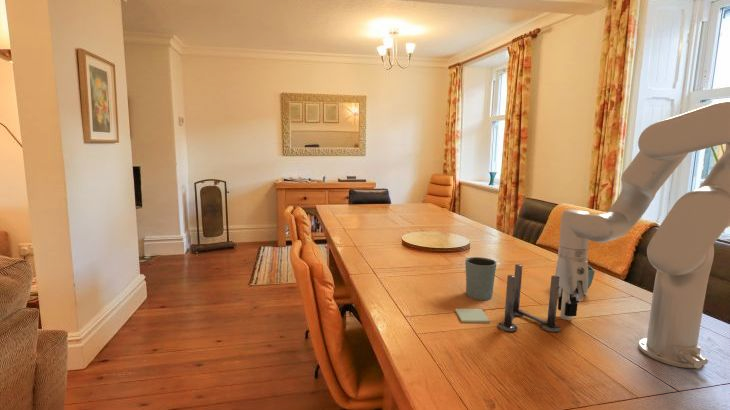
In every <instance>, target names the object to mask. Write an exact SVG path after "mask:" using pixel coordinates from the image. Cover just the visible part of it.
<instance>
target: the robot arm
mask: <svg viewBox="0 0 730 410" xmlns="http://www.w3.org/2000/svg"><path fill="white" fill-rule="evenodd" d="M637 140H638V142H637V144H638V145H637V146H638V149H639V151H638V153H637V154H636V155H635V157H634V158H633V159H632V160H631V162H630V163H629V165H628V166H627V167H626V169H625V170H624V171H623V172H622V174H621V178H620V181H621V191H620V194H619V195H618V197H617V198H616V200H615V201H614V202H613V204H612V205H611V206H610V208H609V209H608V210H607V211H606V212H604V213H603V212H602V213H598V214H597V213H596V214H591V213H590V212H589V211H587V210H583V209H565V210H564V211H563V212H562V213H561V218H560V219H561V220H560V228H559V229H560V230H559V237H558V238H559V239H558V249H557V251H558V252H557V260H556V261H557V262H556V266H555V273H554V276H559V277H560V278H559V288H558V300H557V310H558V311H561V304H562V293H563V289H564V290H565V291H566V292H568V293H567V302H566V304H565V316H573V317H577V315H578V314H577V311H578V304H579V303H580V301H584V299H585V298H584V295H588V292H589V291H588V290H589V289H588V265H589V264H588V255H589V246H590V245H589V244H590V241H591V242H595V243H600V244H602V243H604V244H605V243H608V242H611V241H615V240H617V239H620V238H623V237H624V236H625V235H627V234H628V233H629V232H630V231H631V230H632V228H634V226H635V225H636V224H637V223H638V222H639V221H640V220H641V218H642V217H643V215H644V214H645V213H646V212H647V209H648V208H649V206H650V205H651V203H652V201H653V200H654V198H655V197H656V194H657V193H658V191H659V190H660V189H661V188H662V186H663V185H664V184H665V183H666V181H667V180H668V179H669V178H670V176H671V175H672V174H673V173H674V172H675V171H676V169H677V168H678V167H679V165H680V164H681V163H682V162H683V161H684V159H685V158H686V157H687V156H688V155H689V154H690V153H693V152H698V151H702V150H705V149H708V148H712V147H713V148H714V147H716V146H717V147H718V146H720V145H725V149H724V151H723V154H722V155H721V157H720V158H719V159H718V160H717V161H716V163H715V164H714V165H713V166H712V167H711V170H710V172H709V173H708V175H707V177H705V179H704V181H702V183H701V185H700V186H699V187H698V188H697V189H696V188H695V189H692V190H690V191H688V192H687V193H685V194H683V195H682V196H681V197H679V199H678V200H676V202H675V203H674V204H673V206H672V207H671V209H670V210H669V212H668V213H667V215H666V216H665V217H664V219H663V221H662V222H661V224H660V225H659V226H658V228H657V230H656V231H655V233H654V234H653V235H652V237H651V239H650V240H649V243H648V245H647V248H646V255H647V256H646V257H647V258H648V261H649V263H650V264H651V266H652V267H653V268H654V269H656V273H655V280H654V286H653V291H652V298H651V305H650V306H651V307H650V313H649V320H648V329H647V336H646V337H644V338H642V339H639V341H638V346H637V347H638V348H639V350H640V351H641V352H642V353H643V354H644V355H645V356H647V357H649V358H652V359H653V360H655V361H658V362H661V363H663V364H666V365H669V366H673V367H677V368H684V369H701V368H702V367H703V365H707V364H708V362H709V360H708V358H705V357H704V356H703V355H702V354H701V349H702V348H701V347H700V346H699V345H698V344H699V343H698V342H699V336H700V331H701V323H702V317H703V311H704V305H705V299H706V293H707V288H708V282H709V277H710V274H711V270H712V266H713V262H714V256H715V247H714V245H715V243H716V242H717V240H719V238H720V236H721V235H722V234H723V233H724V231H725V230H726V228H728V227H730V99H729V100H722V101H718V102H716V103H715V102H714V103H712V104H709V105H706V106H702V107H699V108H697V109H693V110H691V111H688V112H685V113H682V114H678V115H675V116H671V117H669V118H666V119H663V120H659V121H656V122H654V123H652V124H649V126H647V127H646V128H645V129H643V131H642V132H641V134H640V135H639V138H638V139H637ZM574 291H576V292H574ZM571 295H575V297H572V298H571Z"/></svg>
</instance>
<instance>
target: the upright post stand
mask: <svg viewBox="0 0 730 410" xmlns="http://www.w3.org/2000/svg"><path fill="white" fill-rule="evenodd" d="M522 276H523V265H522V264H521V263H520V264H518V263H516V264H515V265H514V275H513V274H507V276H506V277H507V278H506V291H505V304H504V305H505V306H504V318H503V319H504V320H503V321H500V322H499V323H497V328H498V329H499V330H501V331H502V332H507V333H514V332H517V331H518V326H517V325H516V324H515V323H513V320H514V318H515V317H523V316H524V317H526V318H529V319H530V320H533V321H535V322H537V323H540V329H542V330H543V331H545V332H549V333H553V334H555V333H557V334H558V333H560V332H561V331H562V330H561V329H562V328H561V326H560V325H558V324H556V319H557V317H556V316H557V310H558V300H559V296H558V292H559V290H558V288H559V278H560V277H559V276H555V275H551V277H550V285H549V287H550V289H549V299H548V310H547V318H546V319H547V320H545V319H542V318H539V317H537V316H534V315H532V314H530V313H529V312H525V311H524V310H523V309H520V301H521V300H520V299H521V291H522V290H521V289H522Z"/></svg>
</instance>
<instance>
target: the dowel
mask: <svg viewBox="0 0 730 410" xmlns="http://www.w3.org/2000/svg"><path fill="white" fill-rule="evenodd" d="M574 292H575V291H574ZM567 293H568V292H566V291H565V290H564V289H563V293H562V304H561V310H560V317H559V318H560V319H563V320H564V321H573V319H574V318H573V317H574V316H565V304H566V302H567ZM572 297H575V295H571V298H572Z"/></svg>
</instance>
